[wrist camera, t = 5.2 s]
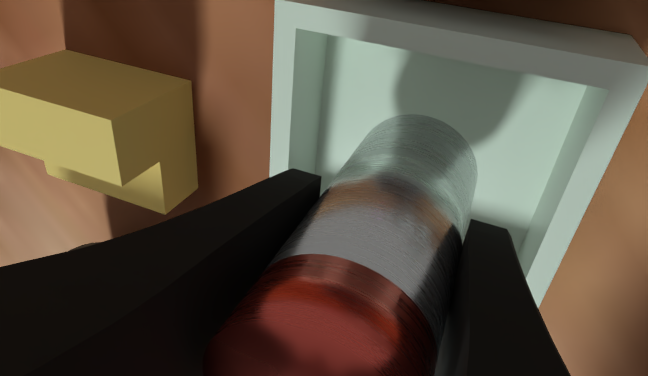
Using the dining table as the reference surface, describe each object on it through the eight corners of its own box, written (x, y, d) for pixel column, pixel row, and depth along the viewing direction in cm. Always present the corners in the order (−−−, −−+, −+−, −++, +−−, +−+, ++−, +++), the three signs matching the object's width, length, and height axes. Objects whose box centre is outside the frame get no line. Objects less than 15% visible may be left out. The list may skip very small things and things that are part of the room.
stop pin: (493, 132, 10) (444, 387, 5) (459, 236, 11) (391, 517, 6) (366, 101, 10) (197, 290, 5) (349, 203, 12) (206, 427, 7)
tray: (630, 34, 10) (655, 67, 8) (523, 279, 14) (520, 344, 12) (320, -17, 12) (275, -2, 10) (302, 211, 15) (267, 256, 13)
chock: (194, 79, 15) (110, 120, 12) (200, 185, 17) (131, 242, 14) (70, 48, 16) (-33, 78, 13) (90, 150, 18) (6, 196, 15)
